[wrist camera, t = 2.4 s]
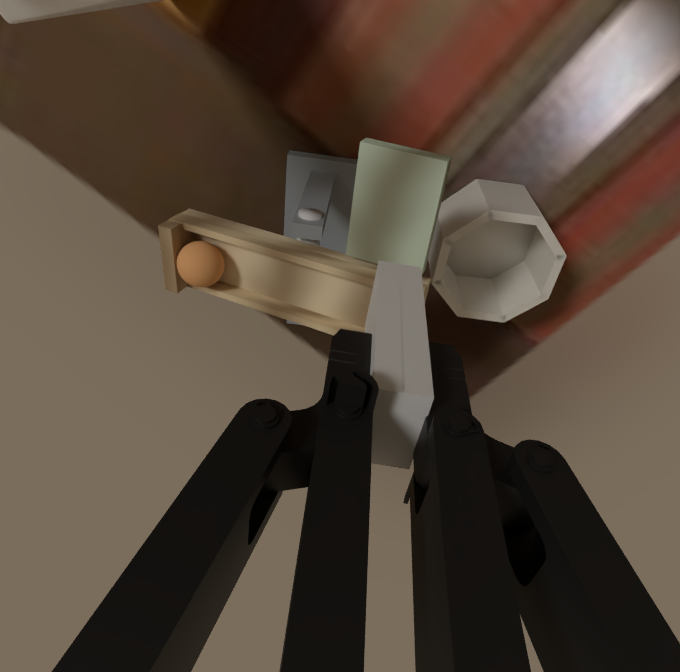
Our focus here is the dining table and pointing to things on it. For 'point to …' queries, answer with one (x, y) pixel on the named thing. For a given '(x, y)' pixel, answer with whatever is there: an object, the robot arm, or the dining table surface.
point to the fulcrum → (319, 199)
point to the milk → (56, 8)
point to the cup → (493, 252)
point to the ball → (200, 264)
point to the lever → (317, 262)
